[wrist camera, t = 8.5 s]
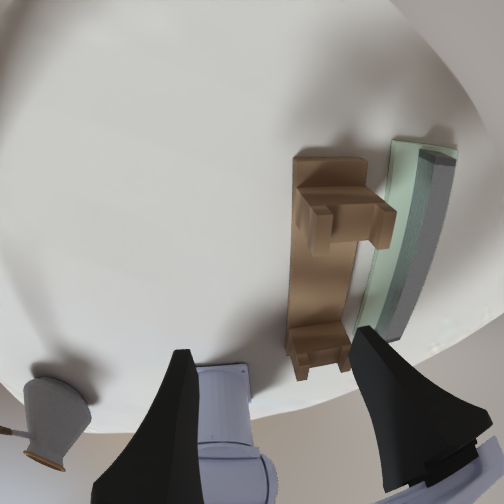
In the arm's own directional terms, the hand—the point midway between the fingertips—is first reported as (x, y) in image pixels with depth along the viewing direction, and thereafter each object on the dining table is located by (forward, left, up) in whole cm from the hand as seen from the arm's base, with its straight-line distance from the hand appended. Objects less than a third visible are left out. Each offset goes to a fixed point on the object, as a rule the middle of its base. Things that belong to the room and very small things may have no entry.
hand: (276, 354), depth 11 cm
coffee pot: (-18, +30, -11) cm, 37 cm away
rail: (-3, -14, -10) cm, 17 cm away
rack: (-4, -6, -10) cm, 12 cm away
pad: (-3, -14, -10) cm, 18 cm away
